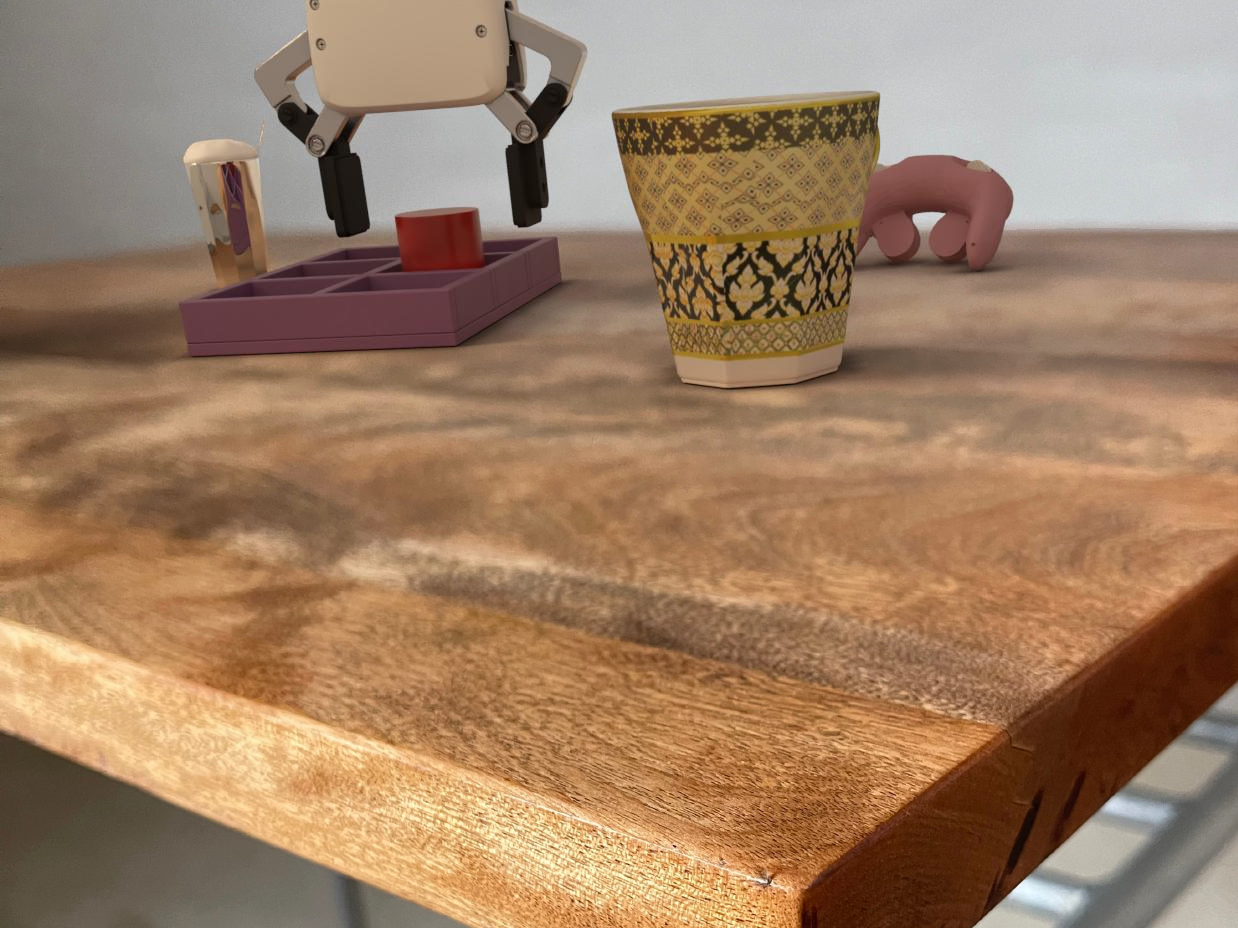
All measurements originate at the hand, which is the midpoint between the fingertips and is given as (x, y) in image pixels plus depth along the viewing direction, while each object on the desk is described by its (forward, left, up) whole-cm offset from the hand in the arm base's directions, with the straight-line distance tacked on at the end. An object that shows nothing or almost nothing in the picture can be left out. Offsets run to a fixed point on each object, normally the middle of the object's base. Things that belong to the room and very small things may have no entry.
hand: (440, 229), depth 75 cm
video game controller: (+25, +10, -4) cm, 27 cm away
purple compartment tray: (-3, 0, -4) cm, 5 cm away
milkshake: (-18, +14, -4) cm, 23 cm away
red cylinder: (0, 0, -4) cm, 4 cm away
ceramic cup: (+20, -17, -4) cm, 26 cm away
